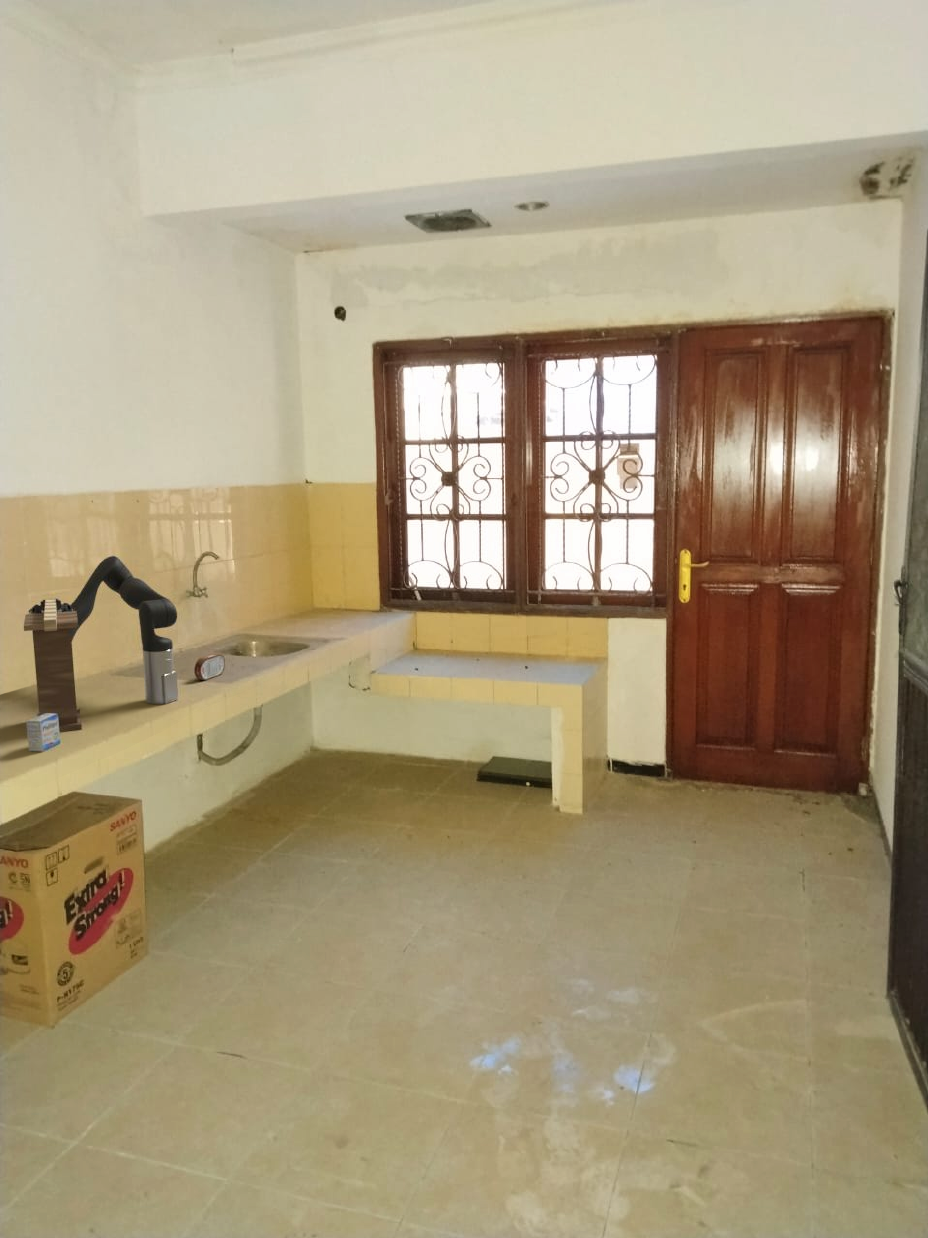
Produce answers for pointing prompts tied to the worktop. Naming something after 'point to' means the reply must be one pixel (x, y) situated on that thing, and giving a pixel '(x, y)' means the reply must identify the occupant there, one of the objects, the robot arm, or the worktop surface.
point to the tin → (209, 666)
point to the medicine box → (43, 732)
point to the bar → (50, 615)
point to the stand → (55, 668)
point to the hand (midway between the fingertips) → (50, 602)
